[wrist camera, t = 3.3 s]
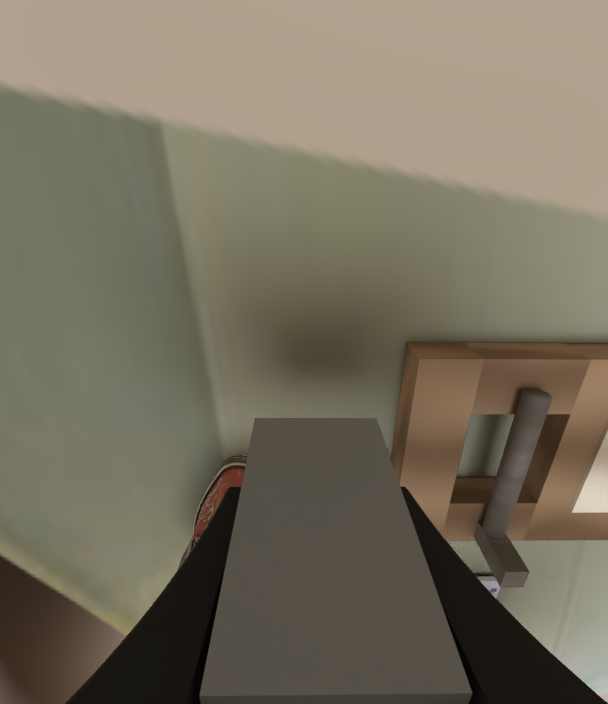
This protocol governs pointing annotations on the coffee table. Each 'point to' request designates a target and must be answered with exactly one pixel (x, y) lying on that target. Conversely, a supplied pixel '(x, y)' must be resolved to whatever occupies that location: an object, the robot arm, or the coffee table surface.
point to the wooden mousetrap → (521, 448)
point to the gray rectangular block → (327, 579)
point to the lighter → (216, 494)
